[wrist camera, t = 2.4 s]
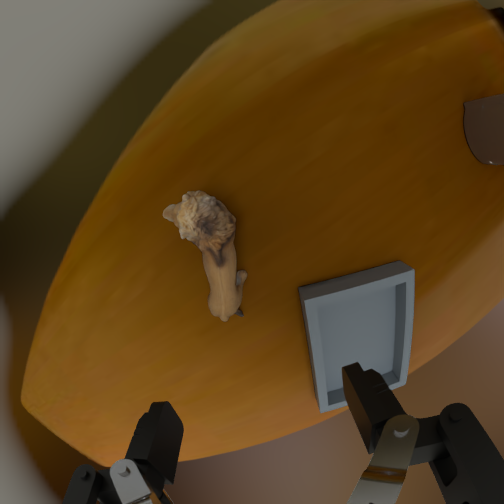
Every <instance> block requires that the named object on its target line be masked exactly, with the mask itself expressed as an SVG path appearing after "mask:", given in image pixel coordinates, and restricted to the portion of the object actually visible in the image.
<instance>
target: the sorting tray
mask: <svg viewBox="0 0 504 504" xmlns="http://www.w3.org/2000/svg"><path fill="white" fill-rule="evenodd" d="M298 290H299V295H300V301H301V306H302V312H303V318H304V324H305V330H306V336H307V342H308V349H309V355H310V362H311V368H312V375H313V382H314V389H315V397H316V400H317V403H318V407H319V410H320V413H323V412H326V411H330V410H334V409H337V408H341V407H344V406H347V405H348V404H347V402H346V399H345V396H344V391H343V380H342V367H343V366H346V365H349V364H352V363H355V362H359V364H360V365H361V367H362V369H363V370H364V371H366V370H369V369H371V368H372V369H373V370H375V371H377V372H378V373H380V374H381V375H382V377H383V378H384V380H385V382H386V383H387V385H388V386H389V388H390V389H391V390H393V389H395V388H398V387H400V386H402V385H405V384H406V380H407V373H408V366H409V359H410V351H411V341H412V330H413V315H414V269H413V268H411V267H410V266H408V265H406V264H405V263H403V262H401V261H396V262H393V263H389V264H386V265H382V266H379V267H375V268H372V269H368V270H364V271H361V272H357V273H353V274H350V275H346V276H342V277H338V278H334V279H330V280H326V281H322V282H318V283H314V284H310V285H306V286H302V287H298Z"/></svg>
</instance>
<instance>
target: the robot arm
mask: <svg viewBox="0 0 504 504" xmlns="http://www.w3.org/2000/svg"><path fill="white" fill-rule="evenodd" d="M464 106H465V115H464V130H465V135H466V138H467V141H468V144H469V146H470V149H471V150H472V152H473V154H474V155H475V157H476V158H477V159H478V160H479V161H480V162H482V163H484V164H493V165H504V94H499V95H495V96H490V97H485V98H481V99H477V100H473V101H469V102H465V103H464ZM342 380H343V391H344V396H345V399H346V402H347V404H348V407H349V409H350V411H351V413H352V416H353V418H354V420H355V423H356V425H357V427H358V430H359V432H360V434H361V437H362V439H363V442H364V444H365V446H366V449H367V451H368V454H371V453H374V454H373V456H372V458H371V461H370V463H369V465H368V467H367V469H366V470H365V471H364V472H363V474H362V476H361V477H360V479H359V481H358V483H357V486H356V487H355V489H354V491H353V493H352V495H351V497H350V498H349V500H348V502H347V504H395V502H396V500H397V497H398V495H399V493H400V490H401V487H402V485H403V482H404V479H405V476H406V472H407V469H408V466H410V465H415V464H420V463H424V462H428V463H429V465H430V467H431V469H432V471H433V474H434V476H435V478H436V481H437V483H438V485H439V488H440V490H441V492H442V495H443V497H444V500H445V502H446V504H504V460H503V458H502V456H501V455H500V453H499V452H498V450H497V448H496V447H495V445H494V444H493V442H492V441H491V439H490V438H489V436H488V434H487V433H486V431H485V430H484V429H483V427H482V426H481V424H480V423H479V421H478V420H477V418H476V417H475V416H474V414H473V413H472V411H471V410H470V408H469V407H467V406H466V405H465V404H462V403H454V404H450V405H448V406H446V407H445V408H444V409H443V410H442V412H441V413H440V415H437V416H433V417H428V418H421V419H419V418H414V417H413V416H411V415H408V414H406V413H405V411H404V410H403V408H402V407H401V405H400V403H399V402H398V400H397V399H396V397H395V396H394V394H393V392H392V391H391V389H390V388H389V386H388V385H387V383H386V382H385V380H384V378H383V377H382V375H381V374H380V373H378V372H377V371H375V370H373V369H372V368H371V369H369V370H366V371H364V370H363V369H362V367H361V365H360V364H359V362H355V363H352V364H349V365H346V366H343V367H342ZM183 432H184V428H183V424H182V421H181V420H180V418H179V416H178V415H177V413H176V412H175V410H174V409H173V407H172V406H171V404H170V403H169V402H168V401H164V402H153V403H152V404H151V406H150V409H149V412H147V413H144V415H143V416H142V417H141V418H140V419H139V421H138V424H137V426H136V429H135V432H134V436H133V437H132V440H131V442H130V445H129V448H128V451H127V453H126V456H125V459H121V460H119V461H117V462H115V463H114V464H113V465H112V467H111V469H106V470H99V471H97V470H95V468H93V467H92V466H91V465H88V464H85V465H81V466H79V467H78V468H77V469H76V470H75V471H74V473H73V476H72V478H71V481H70V484H69V486H68V489H67V492H66V495H65V497H64V500H63V503H62V504H96V501H97V500H99V501H100V503H99V504H174V503H173V502H172V500H171V499H170V497H169V496H168V494H167V493H166V491H165V490H164V489H163V488H164V484H173V483H174V477H175V473H176V467H177V462H178V457H179V452H180V447H181V442H182V437H183Z"/></svg>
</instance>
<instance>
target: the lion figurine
mask: <svg viewBox="0 0 504 504" xmlns="http://www.w3.org/2000/svg"><path fill="white" fill-rule="evenodd" d="M182 198H183V199H182V202H180V203H178V204H177V205H175V204H171V205H169V206H168V207H167V208H166V209H165V210H164V212H163V217H164V218H165V219H168V220H169V221H173V222H174V224H175V225H176V226H177V227H178V228H179V232H180V234H181V238H182V239H184V238H187V239H188V240H189V241H191V242H193V244H195V245H196V246H197V247H198V248H199V249H200V251H201V252H202V256H203V265H204V268H205V272H206V275H207V278H208V281H209V283H210V288H211V292H210V294H209V296H208V306H209V308H210V311H211V313H212V315H214V316H218V317H220V319H221V320H222V321H224V322H225V321H227V320H228V319H229V317H230V316H231V315H233V314H237V315H239V316H241V317H242V316H244V315H243V314H242V311H241V310H239V309H238V308H239V306H240V304H241V300H242V288H243V283H244V281H245V280H246V278H247V272H246V271H245V270H239V271H238V272H237V275H236V265H237V259H236V251H235V247H234V244H233V241H234V237H235V230H236V226H235V222H236V218H235V217H234V216H233V215H232V214H231V213H230V212H229V211H228V210H227V208H226V206H225V205H224V204H222V202H221V201H219V200H217V199H216V198H215V197H213V196H209V195H208V194H206V193H205V192H202V191H200V190H198V191H197V192H194V191H188V193H186V194H184V195H183V197H182ZM236 278H237V283H236ZM235 284H236V286H235Z"/></svg>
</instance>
